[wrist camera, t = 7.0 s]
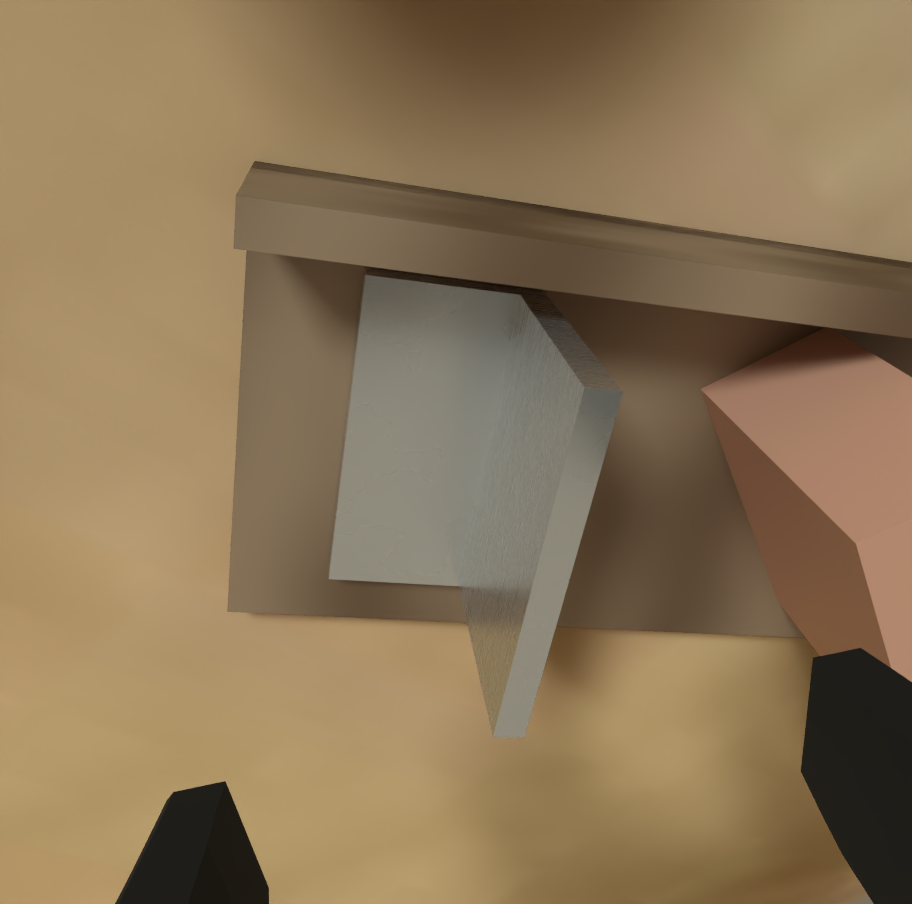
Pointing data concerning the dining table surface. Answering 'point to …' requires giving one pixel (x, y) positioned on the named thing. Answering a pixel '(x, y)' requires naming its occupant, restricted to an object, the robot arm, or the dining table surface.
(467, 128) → the dining table surface
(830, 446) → the terracotta book
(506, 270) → the shelf
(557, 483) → the bookend
